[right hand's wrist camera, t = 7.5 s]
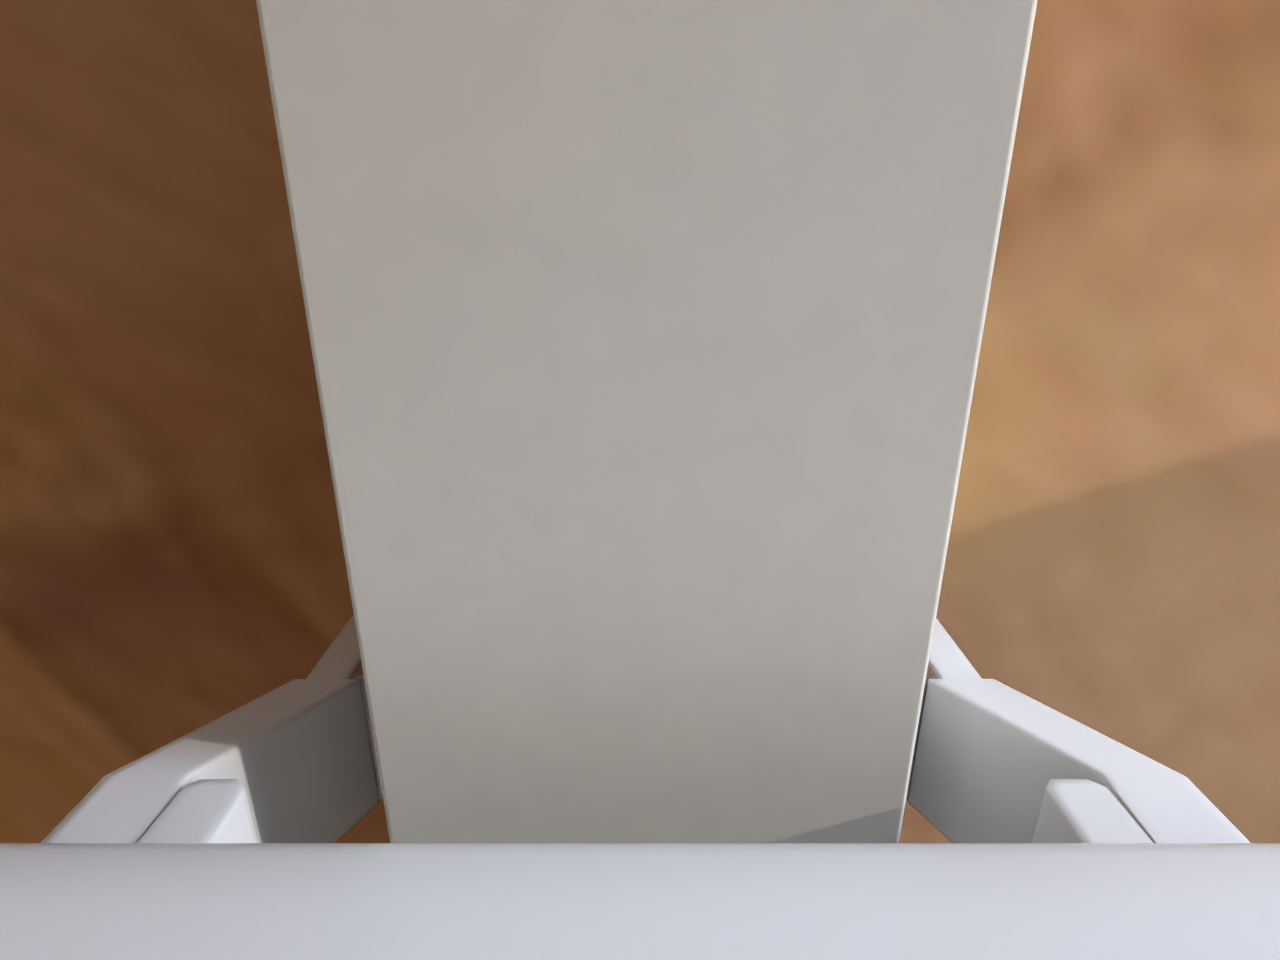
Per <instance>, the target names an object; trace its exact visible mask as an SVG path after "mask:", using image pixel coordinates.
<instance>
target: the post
mask: <svg viewBox="0 0 1280 960" xmlns="http://www.w3.org/2000/svg"><path fill="white" fill-rule="evenodd" d="M256 5H257V11H258V17H259V23H260V30H261V36H262V42H263V49H264V55H265V61H266V67H267V74H268V80H269V86H270V92H271V99H272V105H273V111H274V118H275V124H276V130H277V136H278V143H279V149H280V155H281V161H282V168H283V174H284V180H285V186H286V193H287V199H288V205H289V212H290V218H291V224H292V230H293V237H294V243H295V249H296V255H297V262H298V268H299V274H300V281H301V287H302V293H303V299H304V306H305V312H306V318H307V324H308V331H309V337H310V343H311V349H312V356H313V362H314V368H315V375H316V381H317V387H318V393H319V400H320V406H321V412H322V418H323V425H324V431H325V437H326V444H327V450H328V456H329V462H330V469H331V475H332V481H333V487H334V494H335V500H336V506H337V512H338V519H339V525H340V531H341V538H342V544H343V550H344V556H345V563H346V569H347V575H348V581H349V588H350V594H351V600H352V607H353V613H354V619H355V625H356V632H357V638H358V644H359V650H360V657H361V663H362V669H363V675H364V682H365V688H366V694H367V701H368V707H369V713H370V719H371V726H372V732H373V738H374V744H375V751H376V757H377V763H378V770H379V776H380V782H381V788H382V795H383V801H384V807H385V813H386V820H387V826H388V832H389V838H390V843H899V838H900V832H901V826H902V820H903V814H904V808H905V802H906V796H907V790H908V784H909V778H910V772H911V766H912V759H913V753H914V747H915V741H916V735H917V729H918V723H919V717H920V711H921V705H922V699H923V693H924V687H925V680H926V674H927V668H928V662H929V656H930V650H931V644H932V638H933V632H934V626H935V620H936V614H937V608H938V602H939V595H940V589H941V583H942V577H943V571H944V565H945V559H946V553H947V547H948V541H949V535H950V529H951V523H952V516H953V510H954V504H955V498H956V492H957V486H958V480H959V474H960V468H961V462H962V456H963V450H964V444H965V437H966V431H967V425H968V419H969V413H970V407H971V401H972V395H973V389H974V383H975V377H976V371H977V365H978V359H979V352H980V346H981V340H982V334H983V328H984V322H985V316H986V310H987V304H988V298H989V292H990V286H991V280H992V273H993V267H994V261H995V255H996V249H997V243H998V237H999V231H1000V225H1001V219H1002V213H1003V207H1004V201H1005V194H1006V188H1007V182H1008V176H1009V170H1010V164H1011V158H1012V152H1013V146H1014V140H1015V134H1016V128H1017V122H1018V116H1019V109H1020V103H1021V97H1022V91H1023V85H1024V79H1025V73H1026V67H1027V61H1028V55H1029V49H1030V43H1031V37H1032V30H1033V24H1034V18H1035V12H1036V6H1037V0H256Z"/></svg>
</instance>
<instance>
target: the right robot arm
mask: <svg viewBox="0 0 1280 960" xmlns="http://www.w3.org/2000/svg"><path fill="white" fill-rule="evenodd" d="M378 799H383V795H382V788H381V782H380V776H379V770H378V763H377V757H376V751H375V744H374V738H373V732H372V726H371V719H370V713H369V707H368V701H367V694H366V688H365V682H364V675H363V669H362V663H361V657H360V650H359V644H358V638H357V632H356V625H355V619H354V614H353V615H352V616H351V617H350V619H349V620H348V621H347V623H346V624H345V625H344V627H343V628H342V630H341V631H340V632H339V634H338V635H337V636H336V638H335V639H334V641H333V642H332V643H331V645H330V646H329V647H328V649H327V650H326V652H325V653H324V654H323V656H322V657H321V658H320V660H319V661H318V663H317V664H316V665H315V667H314V668H313V669H312V671H311V672H310V673H309V675H308V676H307V678H306V679H293V680H291V681H289V682H287V683H285V684H283V685H281V686H279V687H278V688H276V689H274V690H272V691H270V692H268V693H266V694H264V695H262V696H260V697H258V698H256V699H254V700H252V701H250V702H248V703H246V704H244V705H242V706H240V707H238V708H236V709H234V710H233V711H231V712H229V713H227V714H225V715H223V716H221V717H219V718H217V719H215V720H213V721H211V722H209V723H207V724H205V725H203V726H201V727H199V728H197V729H195V730H193V731H191V732H189V733H187V734H186V735H184V736H182V737H180V738H178V739H176V740H174V741H172V742H170V743H168V744H166V745H164V746H162V747H160V748H158V749H156V750H154V751H152V752H150V753H148V754H146V755H144V756H142V757H141V758H139V759H137V760H135V761H133V762H131V763H129V764H127V765H125V766H123V767H121V768H119V769H117V770H115V771H113V772H111V773H109V774H107V775H105V776H104V777H103V778H102V779H101V780H100V781H99V782H98V783H97V784H96V785H95V786H94V787H93V788H92V789H91V790H90V791H89V793H88V794H87V795H86V796H85V797H84V798H83V799H82V800H81V801H80V802H79V803H78V804H77V805H76V806H75V807H74V808H73V809H72V810H71V811H70V812H69V813H68V814H67V815H66V816H65V817H64V819H63V820H62V821H61V822H60V823H59V824H58V825H57V826H56V827H55V828H54V829H53V830H52V831H51V832H50V833H49V834H48V835H47V836H46V837H45V838H44V839H43V840H42V841H41V842H40V843H0V960H1280V843H1250V842H1249V841H1248V840H1247V839H1246V838H1245V837H1244V836H1243V835H1242V834H1241V832H1240V831H1239V830H1238V829H1237V828H1236V827H1235V826H1234V825H1233V824H1232V823H1231V822H1230V821H1229V820H1228V819H1227V818H1226V817H1225V816H1224V815H1223V814H1222V813H1221V812H1220V811H1219V810H1218V809H1217V808H1216V807H1215V806H1214V805H1213V804H1212V803H1211V802H1210V801H1209V800H1208V799H1207V797H1206V796H1205V795H1204V794H1203V793H1202V792H1201V791H1200V790H1199V789H1198V788H1197V787H1196V786H1195V785H1194V784H1193V783H1192V782H1191V781H1190V780H1189V779H1188V778H1187V777H1186V776H1184V775H1182V774H1180V773H1178V772H1176V771H1174V770H1172V769H1170V768H1168V767H1166V766H1164V765H1162V764H1160V763H1158V762H1156V761H1154V760H1152V759H1150V758H1148V757H1146V756H1144V755H1142V754H1140V753H1138V752H1136V751H1134V750H1132V749H1130V748H1128V747H1126V746H1124V745H1123V744H1121V743H1119V742H1117V741H1115V740H1113V739H1111V738H1109V737H1107V736H1105V735H1103V734H1101V733H1099V732H1097V731H1095V730H1093V729H1091V728H1089V727H1087V726H1085V725H1083V724H1081V723H1079V722H1077V721H1075V720H1073V719H1071V718H1069V717H1067V716H1065V715H1063V714H1061V713H1059V712H1058V711H1056V710H1054V709H1052V708H1050V707H1048V706H1046V705H1044V704H1042V703H1040V702H1038V701H1036V700H1034V699H1032V698H1030V697H1028V696H1026V695H1024V694H1022V693H1020V692H1018V691H1016V690H1014V689H1012V688H1010V687H1008V686H1006V685H1004V684H1002V683H1000V682H998V681H996V680H994V679H982V678H981V677H980V676H979V674H978V673H977V672H976V670H975V669H974V668H973V666H972V665H971V664H970V662H969V661H968V660H967V658H966V657H965V656H964V654H963V653H962V652H961V650H960V649H959V648H958V646H957V645H956V644H955V642H954V641H953V640H952V638H951V637H950V636H949V634H948V633H947V632H946V630H945V629H944V628H943V626H942V625H941V624H940V622H939V621H938V620H937V618H936V620H935V626H934V632H933V638H932V644H931V650H930V656H929V662H928V668H927V674H926V680H925V687H924V693H923V699H922V705H921V711H920V717H919V723H918V729H917V735H916V741H915V747H914V753H913V759H912V766H911V772H910V778H909V784H908V790H907V796H906V799H908V803H909V804H910V805H911V806H913V807H914V808H915V809H916V810H917V811H918V812H919V813H920V814H921V815H923V816H924V817H925V818H926V819H927V820H928V821H929V822H930V823H931V824H932V825H934V826H935V827H936V828H937V829H938V830H939V831H940V832H941V833H942V834H943V835H945V836H946V837H947V838H948V839H949V840H950V841H951V842H952V843H336V842H337V841H338V840H339V839H340V838H341V837H342V836H343V835H344V834H345V833H347V832H348V831H349V830H350V829H351V828H352V827H353V826H354V825H355V824H356V823H357V822H359V821H360V820H361V819H362V818H363V817H364V816H365V815H366V814H367V813H368V812H369V811H371V810H372V809H373V808H374V807H375V806H376V805H377V804H378V803H379V800H378Z"/></svg>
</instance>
